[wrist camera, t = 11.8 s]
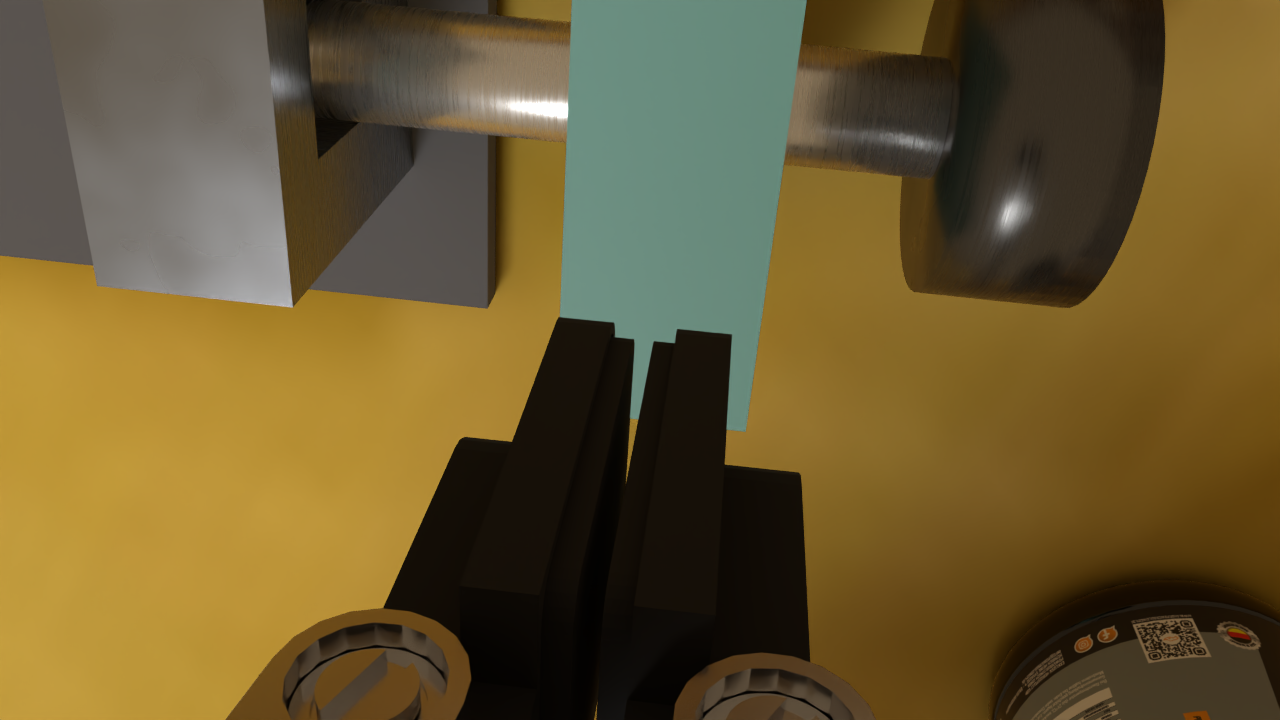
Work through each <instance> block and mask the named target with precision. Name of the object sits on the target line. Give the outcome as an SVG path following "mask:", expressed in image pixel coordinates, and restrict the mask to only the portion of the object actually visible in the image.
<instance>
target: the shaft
mask: <svg viewBox="0 0 1280 720" xmlns="http://www.w3.org/2000/svg"><path fill="white" fill-rule="evenodd" d="M306 12H307V25H308V37H309V50H310V63H311V76H312V89H313V102H314V115H315V118H325V119H335V120H345V121H355V122H365V123H375V124H385V125H395V126H405V127H415V128H424V129H434V130H444V131H454V132H464V133H474V134H484V135H494V136H504V137H514V138H524V139H534V140H544V141H554V142H564V143H567V118H568V91H569V64H570V38H571V22H564V21H553V20H543V19H532V18H522V17H511V16H501V15H490V14H479V13H469V12H458V11H448V10H437V9H426V8H416V7H405V6H395V5H384V4H373V3H363V2H352V1H342V0H306ZM1164 62H1165V22H1164V9H1163V1H1162V0H934V4H933V7H932V11H931V14H930V18H929V22H928V26H927V30H926V33H925V37H924V42H923V46H922V51H921V55H914V54H903V53H892V52H882V51H871V50H861V49H850V48H839V47H829V46H818V45H808V44H801V45H800V52H799V59H798V66H797V73H796V80H795V87H794V94H793V101H792V108H791V115H790V122H789V129H788V136H787V143H786V150H785V157H784V164H783V165H793V166H803V167H813V168H823V169H833V170H843V171H853V172H863V173H873V174H883V175H893V176H902V186H901V204H900V246H901V259H902V267H903V272H904V277H905V280H906V283H907V285H908V287H909V288H910V290H912V291H913V292H919V293H928V294H938V295H947V296H957V297H966V298H975V299H985V300H994V301H1004V302H1013V303H1023V304H1032V305H1042V306H1051V307H1060V308H1070V307H1073V306H1075V305H1078V304H1079V303H1081V302H1082V301H1084V300H1085V299H1086V298H1087V297H1088V296H1089V295H1090V294H1091V293H1092V292H1093V291H1094V290H1095V289H1096V287H1097V286H1098V285H1099V283H1100V282H1101V281H1102V279H1103V278H1104V276H1105V275H1106V273H1107V271H1108V270H1109V268H1110V266H1111V265H1112V263H1113V261H1114V259H1115V257H1116V255H1117V253H1118V251H1119V249H1120V247H1121V245H1122V243H1123V240H1124V238H1125V236H1126V233H1127V231H1128V228H1129V226H1130V223H1131V221H1132V218H1133V215H1134V212H1135V209H1136V206H1137V203H1138V200H1139V198H1140V194H1141V191H1142V187H1143V184H1144V180H1145V177H1146V173H1147V170H1148V165H1149V161H1150V157H1151V153H1152V148H1153V144H1154V139H1155V133H1156V128H1157V122H1158V117H1159V110H1160V103H1161V95H1162V87H1163V75H1164Z"/></svg>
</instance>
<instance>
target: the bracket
mask: <svg viewBox="0 0 1280 720" xmlns="http://www.w3.org/2000/svg"><path fill="white" fill-rule="evenodd" d="M42 1H43V6H44V11H45V17H46V22H47V27H48V32H49V37H50V43H51V48H52V53H53V58H54V63H55V69H56V74H57V79H58V84H59V89H60V95H61V100H62V105H63V110H64V115H65V121H66V126H67V131H68V136H69V141H70V146H71V152H72V157H73V162H74V167H75V172H76V178H77V183H78V188H79V193H80V198H81V204H82V209H83V214H84V219H85V224H86V230H87V235H88V240H89V245H90V250H91V256H92V261H93V266H94V271H95V276H96V282H97V286H103V287H112V288H121V289H130V290H140V291H149V292H158V293H167V294H176V295H185V296H194V297H203V298H212V299H221V300H230V301H239V302H249V303H258V304H267V305H276V306H285V307H294V305H295V304H296V303H297V302H298V301H299V300H300V298H301V297H302V296H303V295H304V294H305V293H306V291H307V290H308V289H309V288H310V287H311V285H312V284H313V283H314V282H315V281H316V280H317V278H318V277H319V276H320V275H321V274H322V273H323V271H324V270H325V269H326V268H327V267H328V266H329V264H330V263H331V262H332V261H333V260H334V258H335V257H336V256H337V255H338V254H339V253H340V251H341V250H342V249H343V248H344V247H345V246H346V244H347V243H348V242H349V241H350V240H351V239H352V237H353V236H354V235H355V234H356V233H357V232H358V230H359V229H360V228H361V227H362V226H363V224H364V223H365V222H366V221H367V220H368V219H369V217H370V216H371V215H372V214H373V213H374V212H375V210H376V209H377V208H378V207H379V206H380V205H381V203H382V202H383V201H384V200H385V199H386V198H387V196H388V195H389V194H390V193H391V192H392V190H393V189H394V188H395V187H396V186H397V185H398V183H399V182H400V181H401V180H402V179H403V178H404V176H405V175H406V174H407V173H408V172H409V171H410V169H411V168H412V167H413V137H412V127H405V126H395V125H385V124H375V123H365V122H355V121H345V120H335V119H325V118H315V115H314V102H313V89H312V76H311V63H310V50H309V37H308V25H307V12H306V0H42ZM342 1H352V2H363V3H373V4H384V5H395V6H405V7H408V0H342Z"/></svg>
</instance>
